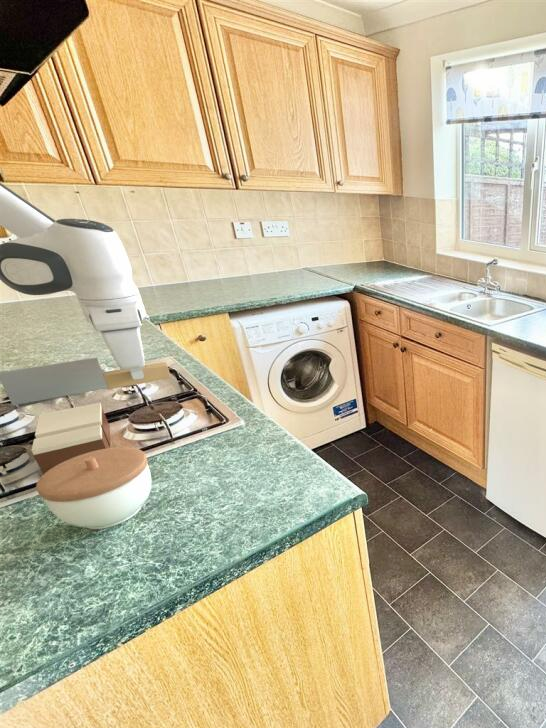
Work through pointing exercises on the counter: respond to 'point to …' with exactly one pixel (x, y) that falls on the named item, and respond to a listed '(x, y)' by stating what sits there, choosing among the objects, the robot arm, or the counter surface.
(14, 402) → the cleaver
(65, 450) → the cake slice
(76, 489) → the lidded bowl
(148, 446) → the counter surface
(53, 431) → the cake
